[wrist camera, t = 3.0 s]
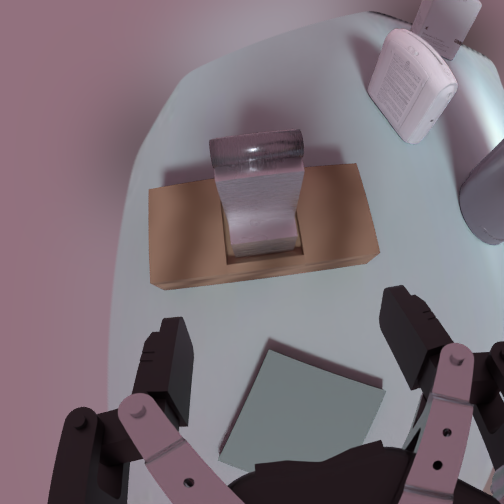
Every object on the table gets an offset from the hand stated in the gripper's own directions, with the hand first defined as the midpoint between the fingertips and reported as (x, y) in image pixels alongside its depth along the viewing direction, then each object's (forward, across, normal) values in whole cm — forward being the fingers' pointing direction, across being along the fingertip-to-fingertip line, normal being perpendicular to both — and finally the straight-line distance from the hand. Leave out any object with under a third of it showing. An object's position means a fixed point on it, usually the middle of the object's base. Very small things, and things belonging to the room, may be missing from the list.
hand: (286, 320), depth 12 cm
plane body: (+19, 0, +5) cm, 19 cm away
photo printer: (+29, -20, -4) cm, 35 cm away
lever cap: (+17, 0, +3) cm, 17 cm away
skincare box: (+42, -36, -17) cm, 58 cm away
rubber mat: (+5, -2, +19) cm, 20 cm away
